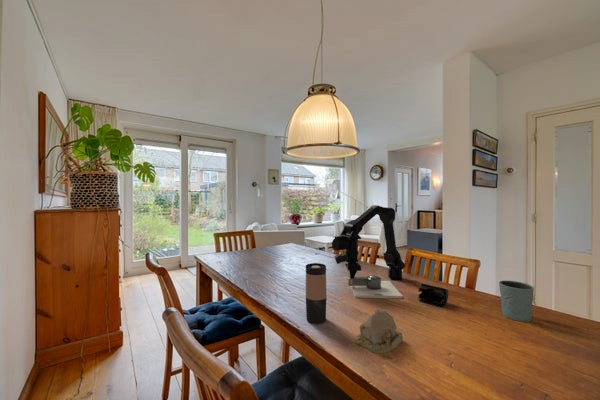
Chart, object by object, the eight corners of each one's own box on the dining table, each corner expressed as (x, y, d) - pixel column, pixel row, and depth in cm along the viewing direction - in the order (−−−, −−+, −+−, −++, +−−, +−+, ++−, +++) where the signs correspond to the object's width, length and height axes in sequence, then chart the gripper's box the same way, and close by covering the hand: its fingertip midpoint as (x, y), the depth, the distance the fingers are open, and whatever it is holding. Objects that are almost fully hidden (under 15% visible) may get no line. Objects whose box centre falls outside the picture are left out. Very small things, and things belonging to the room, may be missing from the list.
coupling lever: (378, 284, 130) (378, 274, 130) (382, 289, 123) (382, 278, 123) (346, 284, 130) (346, 274, 130) (349, 289, 123) (349, 278, 123)
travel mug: (328, 316, 98) (328, 263, 98) (323, 326, 91) (323, 269, 91) (309, 313, 101) (308, 262, 100) (303, 322, 93) (302, 267, 93)
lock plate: (389, 282, 136) (389, 280, 136) (402, 298, 115) (402, 295, 115) (348, 282, 137) (348, 279, 137) (355, 297, 116) (355, 294, 116)
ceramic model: (373, 358, 73) (373, 322, 73) (349, 338, 83) (349, 307, 83) (409, 345, 79) (408, 312, 79) (382, 328, 89) (382, 299, 89)
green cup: (525, 325, 91) (525, 291, 91) (493, 313, 100) (493, 282, 100) (539, 318, 95) (539, 286, 95) (506, 308, 104) (507, 278, 104)
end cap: (448, 303, 110) (448, 287, 110) (442, 308, 105) (442, 291, 105) (424, 296, 117) (424, 281, 117) (417, 301, 112) (417, 285, 112)
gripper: (334, 244, 138) (334, 273, 138) (336, 252, 119) (336, 286, 120) (355, 244, 137) (355, 274, 138) (361, 252, 119) (361, 286, 119)
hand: (351, 279), depth 128 cm, fingers closed
